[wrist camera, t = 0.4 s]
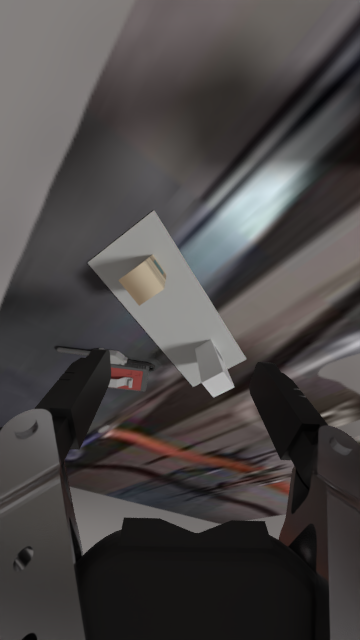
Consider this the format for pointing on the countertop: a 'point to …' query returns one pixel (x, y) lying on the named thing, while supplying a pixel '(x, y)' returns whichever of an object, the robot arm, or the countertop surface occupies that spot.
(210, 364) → the grey block
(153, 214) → the mat
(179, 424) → the countertop surface
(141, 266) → the beech block
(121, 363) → the walkie-talkie
